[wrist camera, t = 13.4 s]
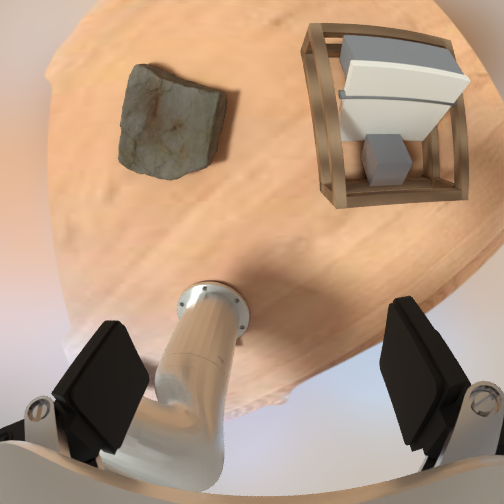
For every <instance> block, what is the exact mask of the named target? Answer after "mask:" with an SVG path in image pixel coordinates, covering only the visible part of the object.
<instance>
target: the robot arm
mask: <svg viewBox="0 0 504 504" xmlns="http://www.w3.org/2000/svg"><path fill="white" fill-rule="evenodd" d="M205 286H206V287H205ZM236 298H237V299H236ZM177 314H178V317H179V322H178V324H177V326H176V328H175V330H174V332H173V334H172V337H171V339H170V341H169V343H168V345H167V347H166V349H165V352H164V354H163V356H162V358H161V360H160V363H159V365H158V367H157V370H156V372H155V378H154V387H155V392H156V396H157V399H158V402H157V401H153V400H151V399H148V398H146V397H144V396H143V394H144V392H145V390H146V388H147V386H148V383H149V375H148V372H147V371H146V369H145V367H144V365H143V363H142V361H141V359H140V357H139V355H138V353H137V351H136V349H135V347H134V345H133V342H132V340H131V338H130V336H129V334H128V332H127V329H126V327H125V326H124V325H122V323H121V322H120V321H110V320H107V321H104V322H103V323H102V325H101V326H100V327H99V328H98V330H97V331H96V332H95V334H94V335H93V336H92V338H91V339H90V340H89V341H88V343H87V344H86V345H85V347H84V348H83V349H82V351H81V352H80V353H79V355H78V356H77V357H76V359H75V360H74V362H73V363H72V364H71V366H70V367H69V369H68V370H67V371H66V373H65V374H64V376H63V377H62V378H61V380H60V381H59V383H58V384H57V386H56V387H55V388H54V390H53V391H52V393H51V394H52V395H53V396H54V397H55V399H56V400H55V402H53V401H52V399H51V398H50V397H48V396H40V397H37V398H35V399H34V400H32V401H31V402H30V403H29V405H28V406H27V408H26V410H25V416H24V417H25V418H24V419H23V420H20V421H18V422H16V423H13V424H11V425H8V426H6V427H3V428H1V429H0V504H504V393H503V391H502V390H501V389H500V388H499V387H498V386H497V385H496V384H494V383H491V382H487V381H481V382H477V383H475V384H473V385H471V383H470V381H469V380H468V378H467V376H466V375H465V373H464V371H463V370H462V368H461V366H460V365H459V363H458V361H457V360H456V358H455V357H454V355H453V354H452V352H451V350H450V349H449V347H448V346H447V344H446V343H445V341H444V340H443V338H442V337H441V335H440V334H439V332H438V331H437V330H435V329H434V327H433V326H432V324H431V323H430V322H429V320H428V319H427V317H426V316H425V314H424V313H423V312H422V310H421V309H420V307H419V306H418V305H417V303H416V302H415V300H414V299H413V298H412V297H411V296H406V297H400V298H395V299H394V301H393V303H391V304H389V307H388V314H387V321H386V328H385V334H384V340H383V346H382V351H381V357H380V370H381V373H382V376H383V379H384V381H385V384H386V387H387V390H388V393H389V396H390V399H391V402H392V405H393V408H394V411H395V414H396V417H397V420H398V423H399V426H400V430H401V433H402V436H403V439H404V442H405V444H406V445H410V447H411V450H412V452H413V451H416V450H419V449H422V448H423V451H424V454H425V455H426V457H425V459H424V461H423V463H422V465H421V467H420V469H419V471H418V473H415V474H411V475H408V476H405V477H401V478H397V479H393V480H390V481H386V482H381V483H377V484H372V485H368V486H363V487H357V488H352V489H346V490H341V491H334V492H326V493H318V494H308V495H295V496H264V497H263V496H232V495H219V494H208V493H201V491H204V490H206V489H209V488H210V487H211V486H213V485H214V484H215V483H216V482H217V480H218V479H219V477H220V475H221V472H222V469H223V464H224V434H223V420H224V408H225V401H226V395H227V389H228V383H229V378H230V372H231V367H232V361H233V355H234V350H235V344H236V339H237V338H239V337H240V336H241V335H242V334H243V333H244V332H245V330H246V329H247V326H248V323H249V314H250V313H249V308H248V306H247V303H246V301H245V300H244V298H243V297H242V296H241V295H240V294H239V293H238V292H237V291H235V290H234V289H233V288H231V287H229V286H227V285H225V284H222V283H218V282H211V281H208V282H200V283H196V284H194V285H191V286H190V287H188V288H187V289H186V290H185V291H184V292H183V293H182V295H181V297H180V298H179V301H178V304H177Z"/></svg>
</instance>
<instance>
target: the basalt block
mask: <svg viewBox="0 0 504 504" xmlns="http://www.w3.org/2000/svg"><path fill="white" fill-rule="evenodd" d="M361 161H362V164H363V167H364V170H365V173H366V176H367V179H368V182H369V185H370V186H385V185H402V184H403V182H404V180H405V178H406V176H407V174H408V172H409V170H410V168H411V166H412V164H413V162H412V160H411V157H410V155H409V153H408V151H407V149H406V146H405V144H404V142H403V140H402V138H401V136H400V134H366V137H365V142H364V146H363V150H362V154H361Z"/></svg>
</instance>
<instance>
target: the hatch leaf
mask: <svg viewBox="0 0 504 504" xmlns="http://www.w3.org/2000/svg"><path fill="white" fill-rule="evenodd" d="M340 63H341V65H342V68H343V70H344V73H345V75H346V78H347V79H346V84H345V88H344V90H339V98H340V99H342V101H341V105H340V109H339V113H338V116H339V124H340V132H341V140H342V142H344V141H365V137H366V134H400V136H401V138H402V140H409V141H423V140H424V139H425V138H426V137H427V136H428V134H429V133H430V132H431V131H432V129H433V128H434V127H435V126H436V125H437V123H438V122H439V121H440V120H441V118H442V117H443V116H444V115H445V114H446V112H447V111H448V110H449V109H450V107H451V106H456V104H457V102H456V100H457V98H458V97H459V96H460V94H461V93H462V92H463V91H464V89H465V88H466V87H467V85H468V84H469V83H470V80H469V78H468V76H466V75H464V74H463V72H462V70H461V69H460V67H459V66H458V64H457V62H456V61H455V59H454V58H453V56H452V54H451V53H450V51H449V50H448V49H444V48H440V47H435V46H431V45H426V44H421V43H415V42H410V41H404V40H397V39H389V38H380V37H370V36H356V35H344V36H343V42H342V48H341V55H340Z"/></svg>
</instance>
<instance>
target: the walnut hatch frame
mask: <svg viewBox="0 0 504 504" xmlns="http://www.w3.org/2000/svg"><path fill="white" fill-rule="evenodd" d="M344 35H356V36H370V37H380V38H389V39H397V40H404V41H410V42H415V43H421V44H426V45H431V46H435V47H440V48H444V49H448V50H449V51H450V53H451V54H452V56H453V58H454V59H455V55H454V51H453V47H452V43H451V40H447V39H443V38H439V37H435V36H431V35H427V34H422V33H417V32H412V31H407V30H401V29H394V28H387V27H379V26H370V25H358V24H338V23H310V24H309V27H308V30H307V33H306V36H305V39H304V42H303V45H302V48H301V56H302V61H303V66H304V72H305V77H306V83H307V89H308V95H309V101H310V108H311V115H312V122H313V129H314V136H315V144H316V153H317V162H318V171H319V181H320V191H321V192H322V193H323V195H324V196H325V197H326V198H327V199H328V200H329V201H330V202H331V203H332V205H333V206H334V207H335V208H336V209H342V208H353V207H365V206H377V205H390V204H404V203H419V202H436V201H456V200H468V189H469V158H468V138H467V126H466V116H465V108H464V100H463V94H462V93H461V94H460V96H459V97H458V98H457V100H456V102H457V104H456V106H451V107H450V112H451V120H452V131H453V144H454V183H452V182H449V181H446V180H443V179H440V178H439V149H438V134H437V125H436V126H435V127H434V128H433V129H432V131H431V132H430V133H429V134H428V136H427V137H426V138H425V139H424V140H423V141H422V146H423V165H424V175H422V177H410V178H405V180H404V182H403V184H402V185H385V186H370V185H369V182H368V179H366V180H351V181H345V170H344V159H343V149H342V140H341V132H340V124H339V116H338V109H337V102H336V96H335V90H334V84H333V78H332V73H331V68H330V62H329V58H328V57H340V55H341V48H342V44H326V43H325V39H324V38H343V36H344ZM455 61H456V59H455ZM428 188H432V189H428ZM405 189H409V190H405ZM387 190H391V191H387ZM372 191H375V192H372ZM358 192H361V193H358ZM346 193H348V194H346Z"/></svg>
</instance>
